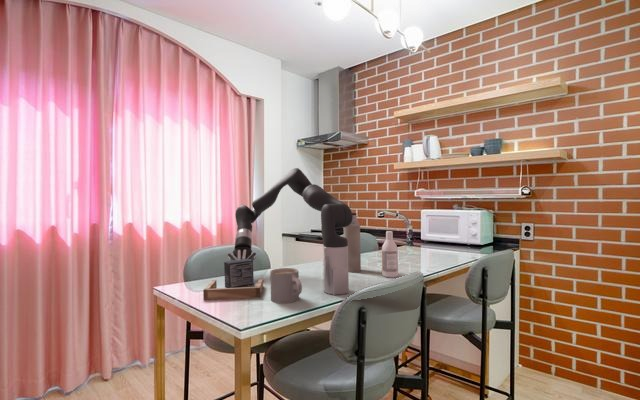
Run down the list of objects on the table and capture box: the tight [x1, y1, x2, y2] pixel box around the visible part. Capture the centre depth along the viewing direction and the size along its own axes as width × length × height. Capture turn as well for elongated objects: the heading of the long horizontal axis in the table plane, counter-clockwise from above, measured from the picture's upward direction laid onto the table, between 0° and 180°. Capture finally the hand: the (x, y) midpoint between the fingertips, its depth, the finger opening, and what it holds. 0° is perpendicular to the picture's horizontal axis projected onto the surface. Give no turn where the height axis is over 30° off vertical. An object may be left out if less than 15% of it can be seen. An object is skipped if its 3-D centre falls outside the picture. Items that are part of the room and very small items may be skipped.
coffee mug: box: [269, 267, 303, 304], centre depth 123 cm, size 13×10×10 cm
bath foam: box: [381, 230, 399, 278], centre depth 157 cm, size 7×7×20 cm
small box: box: [223, 258, 255, 288], centre depth 145 cm, size 11×6×10 cm, turn 124°
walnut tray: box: [202, 277, 264, 301], centre depth 134 cm, size 16×20×4 cm
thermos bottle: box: [342, 212, 362, 273], centre depth 170 cm, size 8×8×28 cm
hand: (240, 272), depth 151 cm, fingers closed
